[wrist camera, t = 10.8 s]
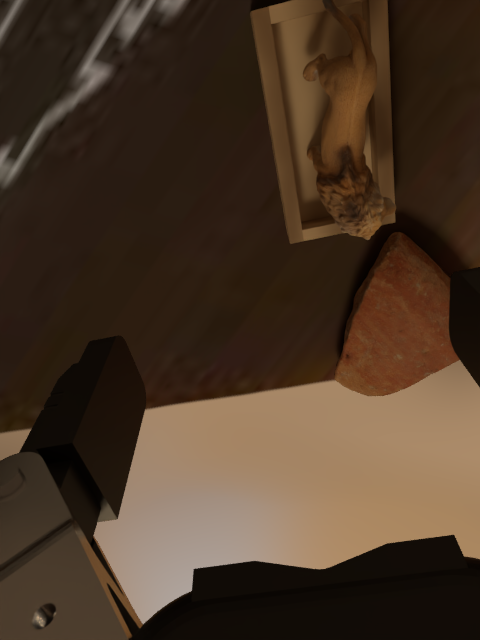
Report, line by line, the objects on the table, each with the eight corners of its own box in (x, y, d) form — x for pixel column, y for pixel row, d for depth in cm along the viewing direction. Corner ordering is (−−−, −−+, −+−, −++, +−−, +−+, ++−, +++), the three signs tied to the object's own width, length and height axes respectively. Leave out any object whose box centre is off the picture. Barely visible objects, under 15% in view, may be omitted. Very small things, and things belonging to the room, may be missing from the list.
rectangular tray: (287, 232, 41) (290, 243, 39) (249, 13, 32) (251, 11, 30) (385, 211, 40) (395, 222, 38) (375, -20, 31) (386, -25, 29)
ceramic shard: (287, 348, 42) (411, 230, 38) (280, 324, 48) (387, 220, 44) (389, 438, 45) (512, 338, 42) (371, 405, 51) (476, 315, 48)
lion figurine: (371, 182, 39) (407, 238, 32) (310, 198, 39) (334, 257, 33) (359, -24, 29) (408, -4, 22) (279, 2, 29) (303, 30, 23)
